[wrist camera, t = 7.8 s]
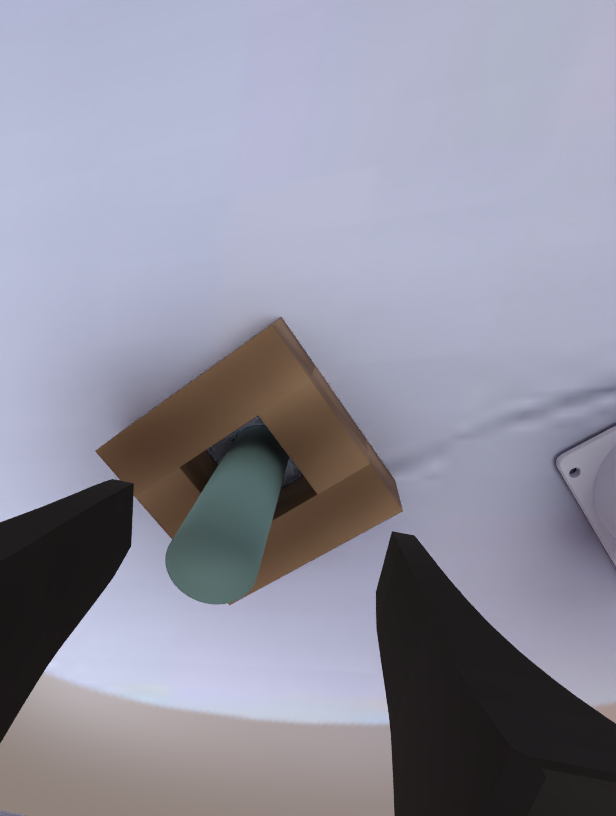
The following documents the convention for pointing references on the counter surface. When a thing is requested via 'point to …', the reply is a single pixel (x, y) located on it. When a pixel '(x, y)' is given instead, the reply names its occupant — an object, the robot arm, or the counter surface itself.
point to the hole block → (291, 426)
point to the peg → (230, 521)
